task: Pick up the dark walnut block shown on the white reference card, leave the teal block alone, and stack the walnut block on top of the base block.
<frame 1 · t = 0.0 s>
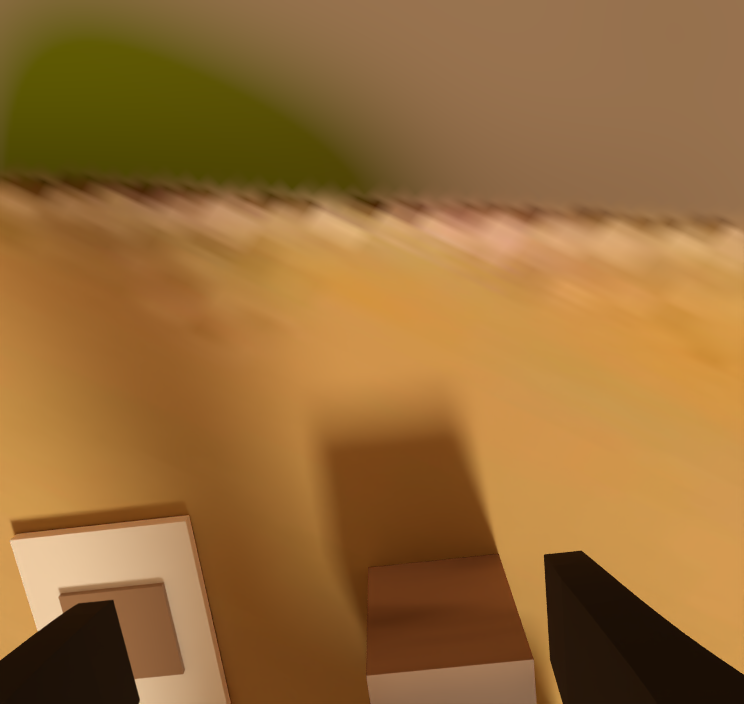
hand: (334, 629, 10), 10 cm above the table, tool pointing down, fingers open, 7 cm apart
reference card: (128, 624, 22), on the table
walnut block: (439, 615, 22), on the table
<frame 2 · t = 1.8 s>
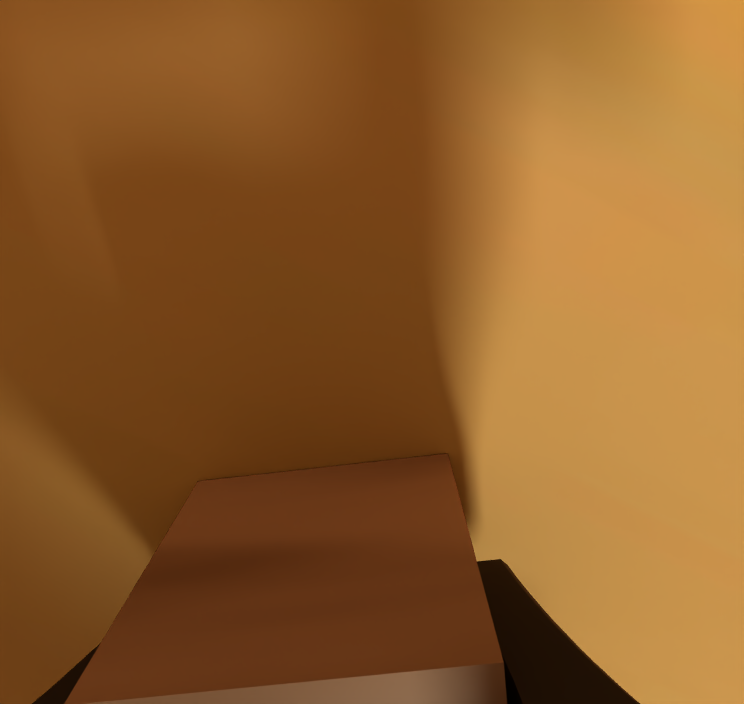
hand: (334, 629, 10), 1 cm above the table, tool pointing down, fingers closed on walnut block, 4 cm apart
walnut block: (339, 576, 12), on the table, touching gripper
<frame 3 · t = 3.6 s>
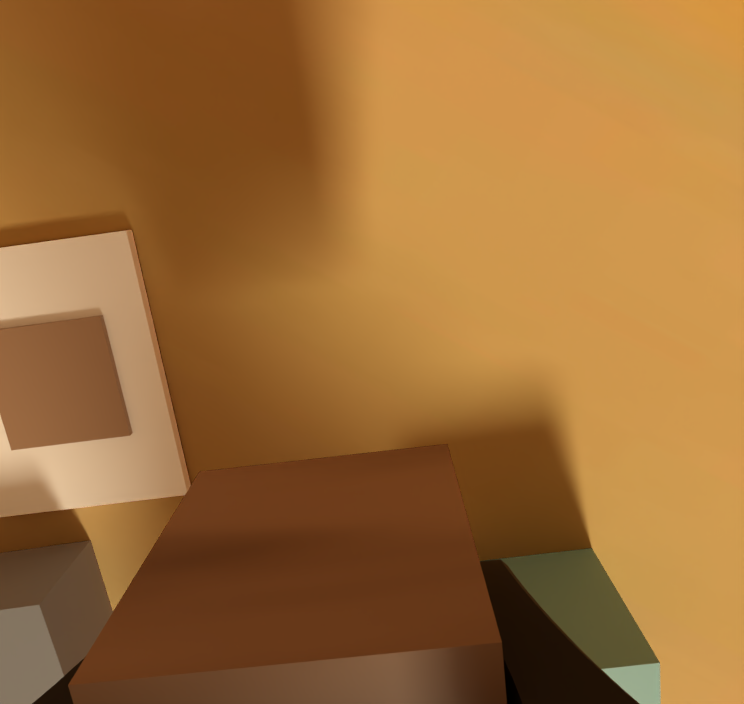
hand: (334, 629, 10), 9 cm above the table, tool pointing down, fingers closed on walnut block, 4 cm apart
reference card: (64, 379, 19), on the table
base block: (5, 665, 22), on the table
walnut block: (339, 566, 12), point 7 cm above the table, touching gripper
teal block: (525, 614, 21), on the table
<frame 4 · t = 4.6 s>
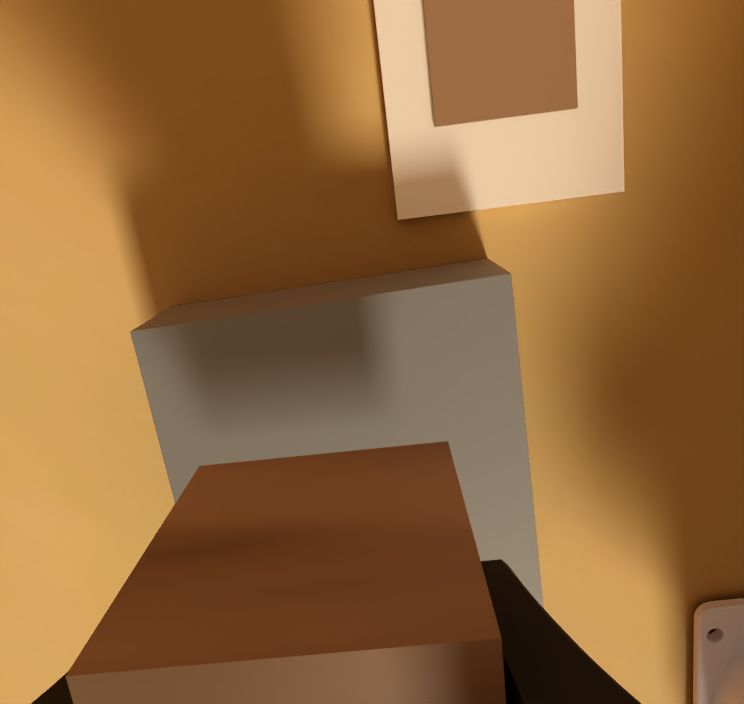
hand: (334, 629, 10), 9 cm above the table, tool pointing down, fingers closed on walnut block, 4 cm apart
reference card: (496, 45, 16), on the table
base block: (353, 425, 19), on the table
walnut block: (338, 563, 12), point 7 cm above the table, touching gripper
when the fingers open (6 cm above the table, at t = 5.4 s): walnut block drops 1 cm, point 3 cm above the table.
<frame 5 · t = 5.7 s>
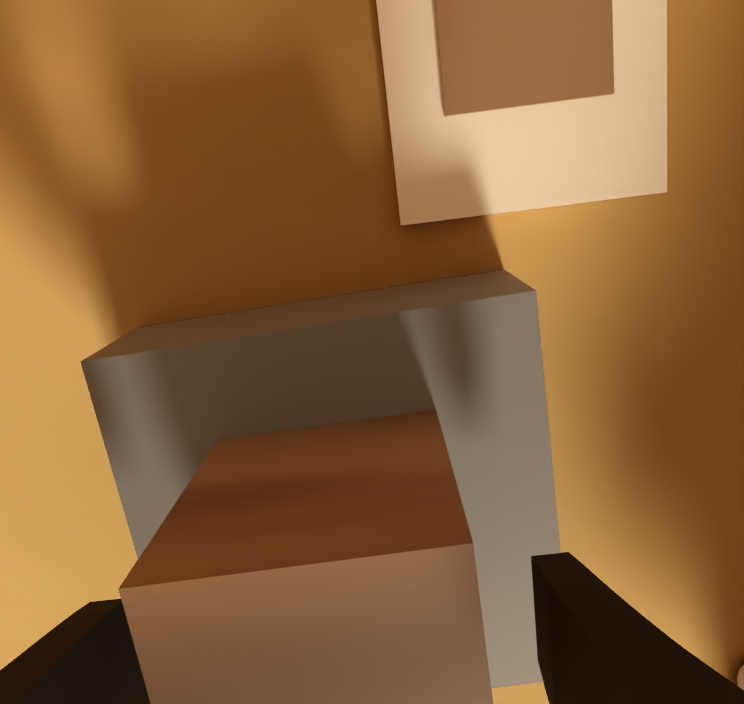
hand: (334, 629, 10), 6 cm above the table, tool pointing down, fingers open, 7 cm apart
reference card: (518, 19, 13), on the table
base block: (350, 460, 17), on the table
walnut block: (343, 524, 13), point 3 cm above the table
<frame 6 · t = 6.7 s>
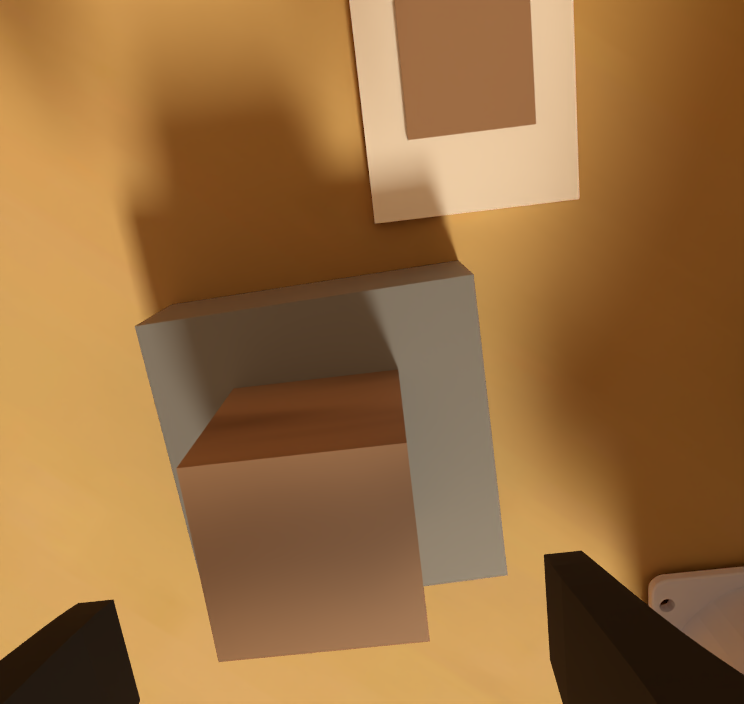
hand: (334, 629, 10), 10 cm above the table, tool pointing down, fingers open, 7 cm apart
reference card: (463, 66, 18), on the table
base block: (338, 413, 21), on the table, touching walnut block
walnut block: (327, 455, 17), point 3 cm above the table, touching base block
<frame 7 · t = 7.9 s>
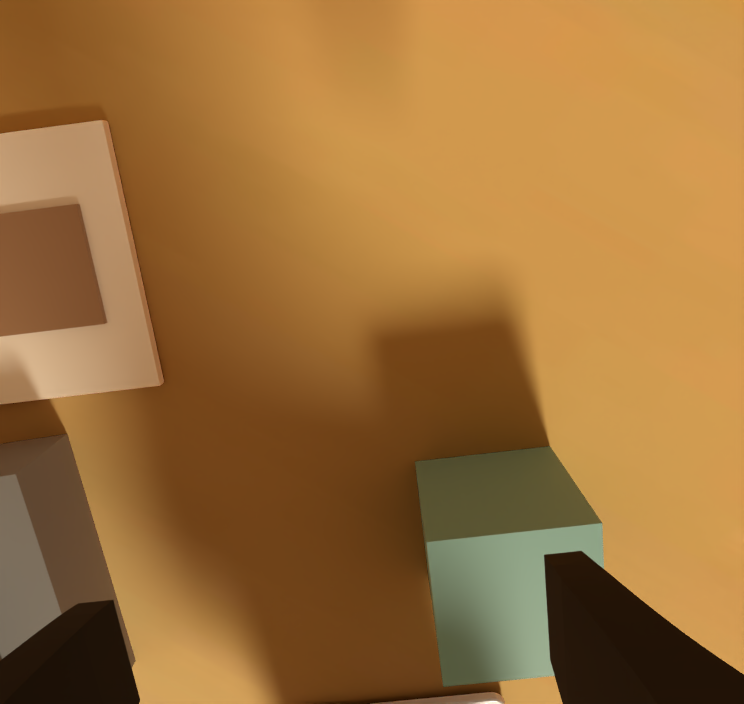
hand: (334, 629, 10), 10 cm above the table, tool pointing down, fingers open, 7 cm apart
reference card: (42, 270, 19), on the table
teal block: (487, 513, 21), on the table
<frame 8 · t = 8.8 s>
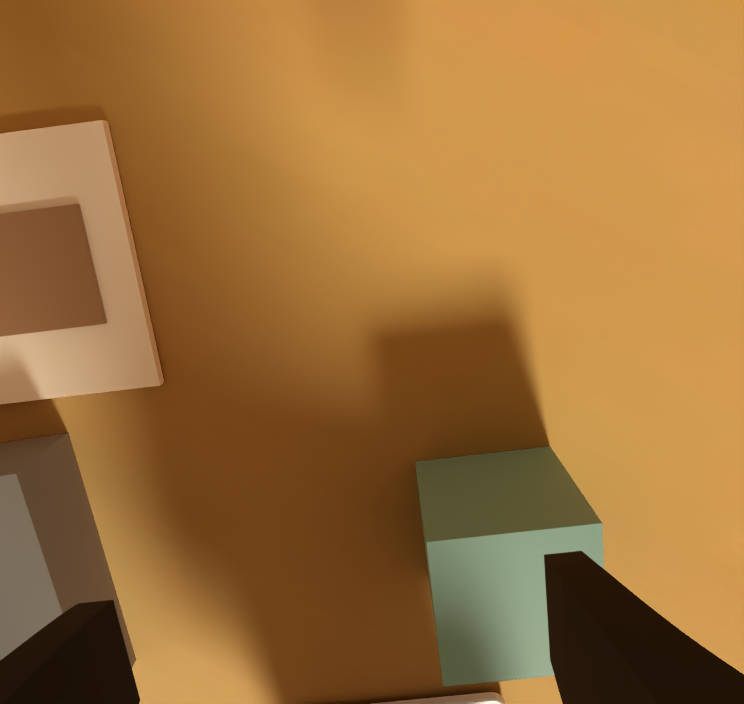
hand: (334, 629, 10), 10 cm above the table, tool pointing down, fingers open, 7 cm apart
reference card: (42, 270, 19), on the table
teal block: (487, 513, 21), on the table
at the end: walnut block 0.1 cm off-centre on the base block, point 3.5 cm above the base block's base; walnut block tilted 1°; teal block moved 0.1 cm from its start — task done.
